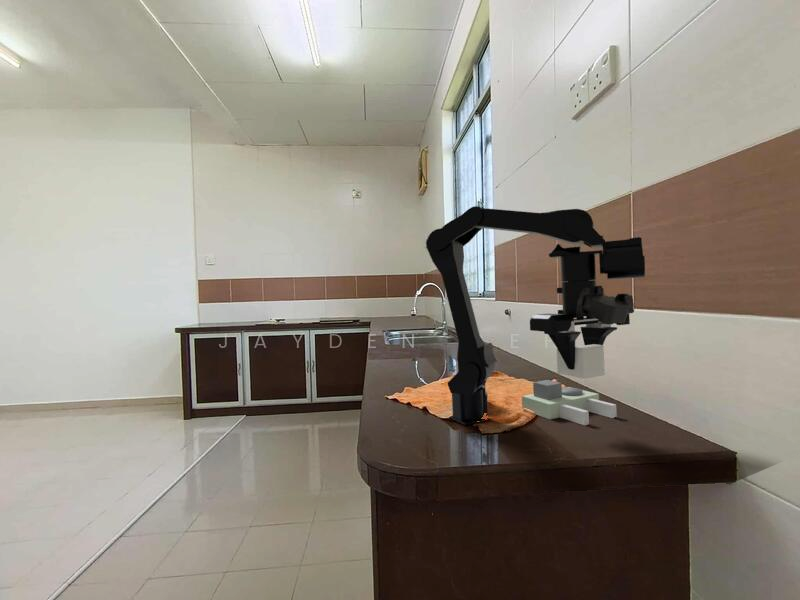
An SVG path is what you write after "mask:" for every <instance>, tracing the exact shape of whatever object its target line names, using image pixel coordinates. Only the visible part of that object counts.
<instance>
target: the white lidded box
mask: <svg viewBox="0 0 800 600" xmlns="http://www.w3.org/2000/svg"><path fill="white" fill-rule="evenodd" d="M604 348H605V347H604V344H603V345H596V344H592V345H579V346H576V345H575V367H574V370H571V369H568V367H567V366H566V364H565V362H564V360H563V358H562V356H561V354H560V353H559V351H558V349H557V348H556V362H557V363H556V364H557V365H556V367H557V374H560V375H565V376H570V377H574V378H578V379H582V380H583V379H584V380H585V379H590V378H596V377H601V376H605V374H606V373H605V371H606V370H605V352H604Z"/></svg>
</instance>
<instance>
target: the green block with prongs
mask: <svg viewBox="0 0 800 600" xmlns="http://www.w3.org/2000/svg"><path fill="white" fill-rule="evenodd" d="M532 385H533V393H530V394H526V395H521V408H522V407H523V408H527V409H530V410H532V411H534V412H535V413H536V414H535V415H536V416H538V417H539V416H540V417H542V418H544V419H548V420H554V419H558V418H561V419H564V420H566V421H570V422H573V423H575V424H580V425H582V426H587V425H589V424H590V418H589V417H590V414H589V413H593V414H597V415H600V416H603V417H608V418H611V419H615V417H616V418H617V404H615V403H611V402H607V401H605V400H600V394H599V393H597V392H592V391H587V390H584V389H582V388H577V387H571V386H566V387H563V386H562V382H558V381H553V380H550V379H544V380H539V381H534V382H533V383H532Z"/></svg>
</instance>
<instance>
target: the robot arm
mask: <svg viewBox="0 0 800 600" xmlns="http://www.w3.org/2000/svg"><path fill="white" fill-rule="evenodd" d="M483 229H487V230H499V231H506V232H515V233H522V234H523V233H524V234H525V233H526V234H534V235H540V236H545V237H548V238H551V239H552V240H553V239H554V240H557V241H559V242H562V243H563V242H564V243H566V244H571V245H582V244H583V245H585V246H588V247H589V248H591V249H594V250H590V251H589V250H586V251H582V248H581V246H572V247H571V246H570V247H563V246H562V245H561V244H559V243H557V244H556V245H555V247H554V249H553V250H552V251H551V252H550V253H548V257H549V258H550V259H551V258H552V259H557V258H558V259H559V258H560V273H561V275H560V276H561V277H560V278H561V287H556V294H561V296H562V297H561V298H562V299H561V301H562V303H561V304H562V309H557V313H537V314H533V315H532V316H531V318H530V319H529V330H530V331H534V332H544V334H545V335H548V337H549V338H550V340H551V342H552V343H553V344H554V346H555V347H556V350H557V349H558V351H559V353H560V354H561V356H562V358H563V360H564V362H565V364H566V366H567V367H568V369H571V370H574V367H575V347H576V340H577V339H578V337H579V336H580V334H581V335H582V340H583V344H584V345H592V344H596V345H603V346H604V344H605V341H606V339H607V337H608V336H610V334H611V333H613V332H614V331H617V330H618V327H615V326H612V325H613V324H615V325H616V326H625V325H630V314H633V313H634V312H635V308H634V306H635V305H634V299H633V295H631V294H628V293H625V292H622V293H618V294H616V296H613V295H612V296H611V295H610V296H608V295H606V294H605V293H604V288H603V285H597V273H596V272H597V271H596V270H597V269H596V255H597V256H598V257H599V274H600V275H607V276H606V277H607V280H619V279H620V280H623V279H625V280H626V279H640V278H645V275H646V261H645V260H646V258H645V255H644V252H643V242H642V240H643V239H642V237H640V236H637V237H631V238H628V239H627V238H626V239H619V240H617V239H616V240H607V241H606V240H605V238H604V235H600V233H598V231H597V230H596V229H595V224H594V221H593V219H592V216H591V215H590V213H589V212H588V211H586V210H584V209H581V208H570V209H569V208H568V209H558V210H553V211H547V212H533V211H532V212H531V211H519V210H511V209H509V210H508V209H497V208H496V209H495V208H488V207H487V208H485V207H481V206H472V207H470V208H468V209H467V210H465V212H463V213H462V214H460V215H459V216H457V217H455V218H453V219H452V220H450V221H449V222H447V223H445V224H444V225H443V226H442V227H440V228H437V229H434V230H432V231H431V232H430V233H429V234H428V236H427V238H426V241H425V247H426V250H427V252H428V255H429V257H430V258H431V261H432V263H433V265H434V266H435V267H436V269H437V270H438V272H439V273H440V275H441V278H442V283H443V286H444V289H445V290H444V291H445V293H446V298H447V302H448V307H449V310H450V314H451V317H452V320H453V325H454V330H455V333H456V336H457V342H458V345H457V353H456V355H457V356H456V361H457V363H458V373H457V374H456V375H455V374H454V375H453V376H452V377H451V378H450V380H449V381H448V382H447V386H448V390H449V391H450V393H451V405H452V406H451V407H452V414H453V416H451V418H450V419H452V420H454V421H456V422H458V423H460V424H462V425H464V426H469V425H473V424H476V423H475V422H477V421H482V420H485V419H481V418H482V417H483V415H484V413H488V414H489V411H488V409H489V408H488V398H487V395H486V393H485V388H483V387H482V386H484V385H485V386H486V383H487V379H489V378H490V377H491V376H493V374H494V372H495V371H496V370H495V368H496V365H495V364H496V363H497V362H498V360H497V358H496V356H495V355H494V349H493V348H494V347H493V343H492V342H488V343H485V341H484V340H483V338H482V337H481V336H480V332H479V327H478V324H477V320H476V315H475V312H474V308H473V305H472V301H471V297H470V293H469V289H468V285H467V282H466V278H465V274H464V262H465V260H464V259H465V251H464V247H465V246H466V245H467V244H468V243H470V242H471V241H472V240H473V239H474V237H475V236H476V235H478V233H479V232H480V231H481V230H483ZM597 249H600V250H597ZM583 325H585V326H583ZM575 326H580V331H578V330H575ZM584 345H583V346H584ZM487 419H489V418H487Z"/></svg>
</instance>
